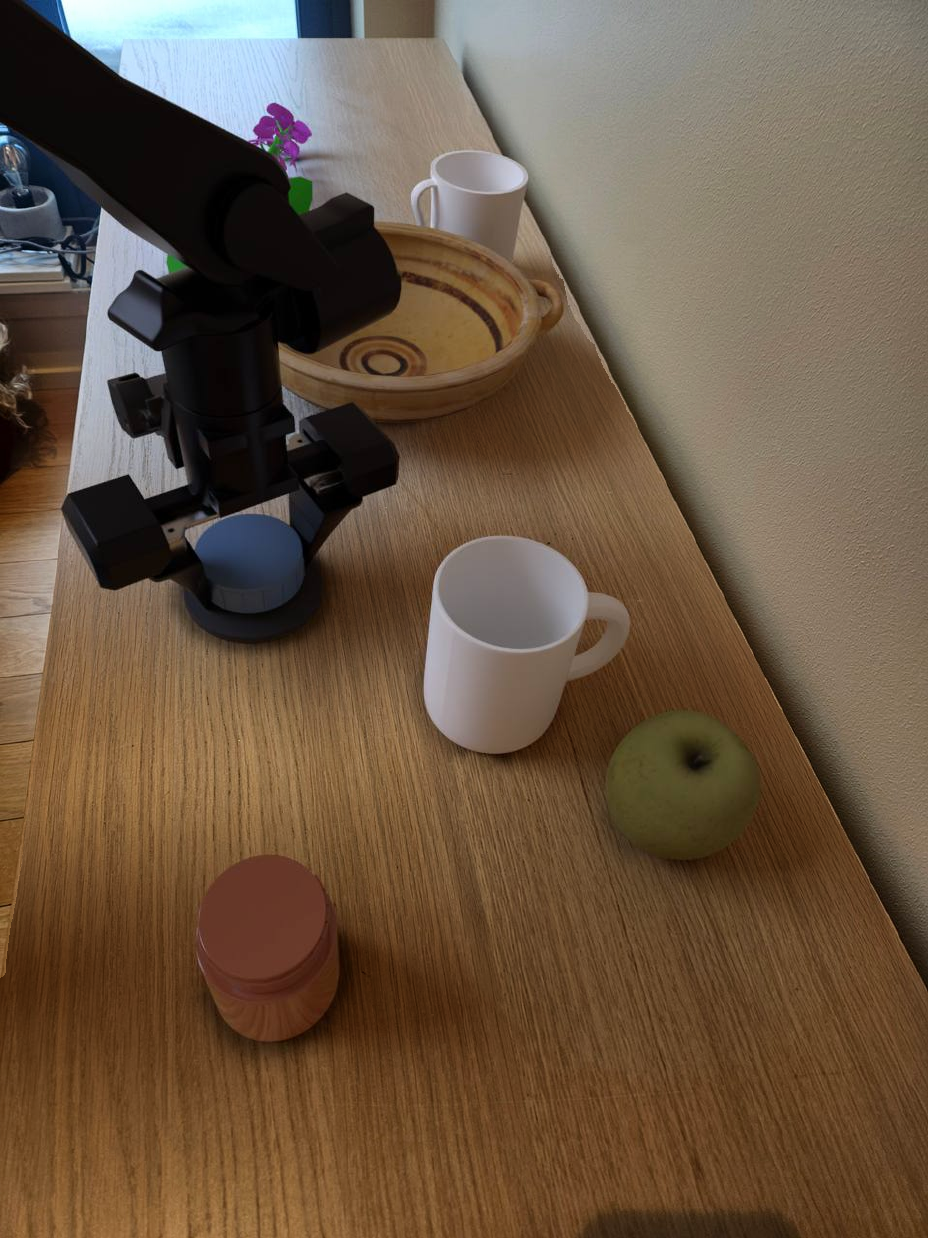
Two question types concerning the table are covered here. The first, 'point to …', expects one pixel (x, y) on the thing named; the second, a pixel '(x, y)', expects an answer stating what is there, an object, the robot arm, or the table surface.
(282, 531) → the jar lid
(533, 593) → the mug
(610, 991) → the table surface
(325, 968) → the jar
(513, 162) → the mug
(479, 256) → the ceramic bowl
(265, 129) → the potted plant
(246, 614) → the coaster
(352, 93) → the table surface
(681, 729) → the apple
